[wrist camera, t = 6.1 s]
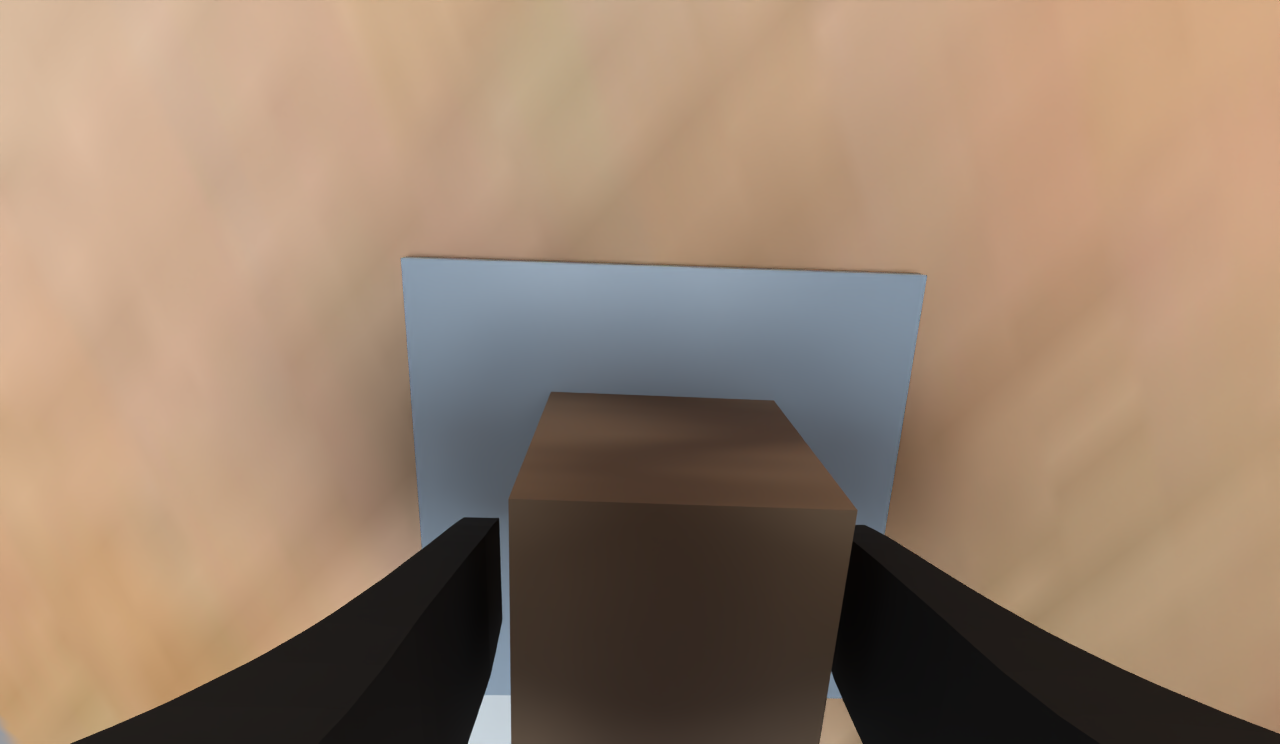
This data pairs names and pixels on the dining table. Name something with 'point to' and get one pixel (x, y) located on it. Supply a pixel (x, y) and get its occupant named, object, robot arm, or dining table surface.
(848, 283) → the baseplate
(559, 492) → the block walnut
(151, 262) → the dining table surface
